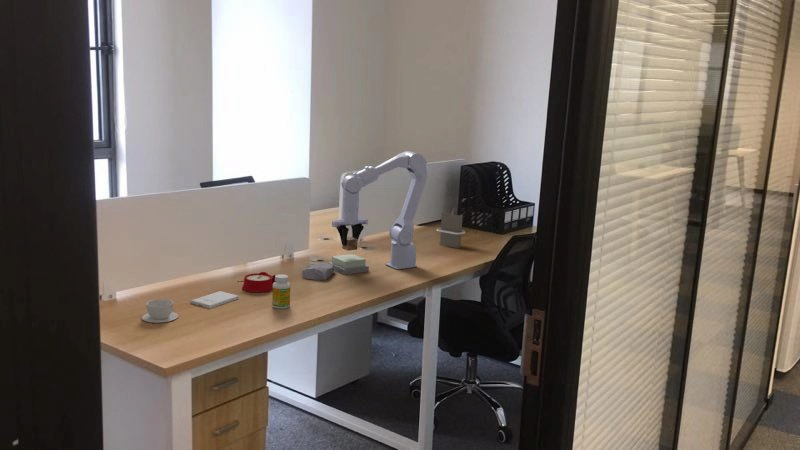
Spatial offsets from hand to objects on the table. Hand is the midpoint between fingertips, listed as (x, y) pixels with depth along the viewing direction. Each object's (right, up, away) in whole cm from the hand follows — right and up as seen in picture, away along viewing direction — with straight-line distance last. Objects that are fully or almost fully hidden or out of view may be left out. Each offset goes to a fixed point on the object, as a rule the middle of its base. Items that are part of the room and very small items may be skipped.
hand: (349, 244), depth 269 cm
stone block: (-11, -11, -8) cm, 17 cm away
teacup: (-50, -20, -60) cm, 81 cm away
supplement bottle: (-18, -18, -45) cm, 51 cm away
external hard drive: (-39, -17, -43) cm, 60 cm away
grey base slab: (-1, -10, +2) cm, 10 cm away
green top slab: (0, -7, +2) cm, 8 cm away
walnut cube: (0, -2, 0) cm, 2 cm away
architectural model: (+41, -2, +48) cm, 63 cm away
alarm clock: (-28, -14, -26) cm, 40 cm away
